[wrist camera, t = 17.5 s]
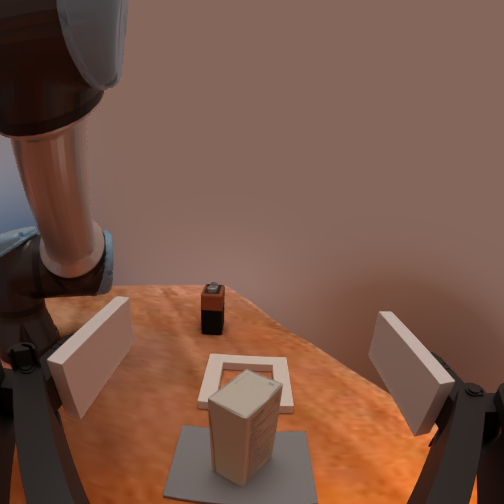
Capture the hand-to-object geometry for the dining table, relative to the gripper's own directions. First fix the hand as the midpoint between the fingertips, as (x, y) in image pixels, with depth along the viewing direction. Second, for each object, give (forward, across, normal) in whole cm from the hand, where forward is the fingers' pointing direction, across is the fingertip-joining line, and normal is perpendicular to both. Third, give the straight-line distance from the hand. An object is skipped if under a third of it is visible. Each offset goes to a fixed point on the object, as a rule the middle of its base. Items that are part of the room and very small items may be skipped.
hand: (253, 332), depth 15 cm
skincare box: (+8, 0, -23) cm, 24 cm away
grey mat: (+8, 0, -23) cm, 24 cm away
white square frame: (+25, 0, -23) cm, 34 cm away
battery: (+45, -8, -24) cm, 51 cm away
